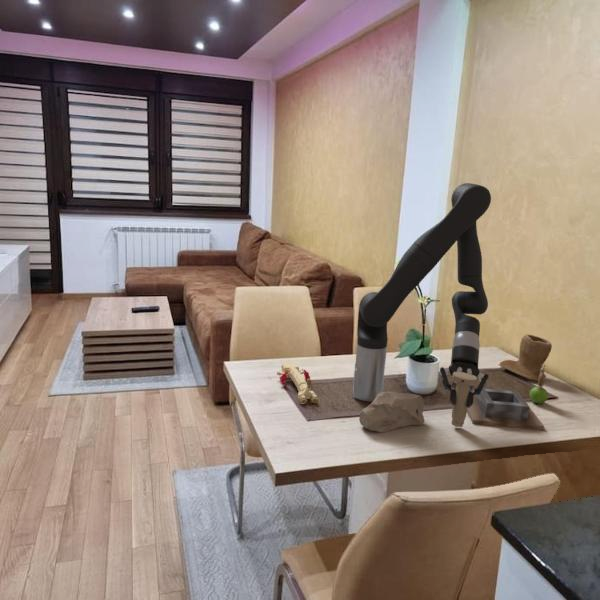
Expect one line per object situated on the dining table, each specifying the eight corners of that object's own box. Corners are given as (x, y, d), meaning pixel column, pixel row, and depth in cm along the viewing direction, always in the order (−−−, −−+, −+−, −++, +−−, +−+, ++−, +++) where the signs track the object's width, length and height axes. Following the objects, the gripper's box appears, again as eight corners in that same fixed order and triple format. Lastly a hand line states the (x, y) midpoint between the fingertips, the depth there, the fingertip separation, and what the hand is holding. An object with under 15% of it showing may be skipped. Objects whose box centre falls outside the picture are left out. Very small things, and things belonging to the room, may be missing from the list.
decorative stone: (413, 414, 155) (417, 383, 153) (429, 425, 149) (433, 393, 146) (355, 425, 147) (358, 392, 144) (369, 437, 140) (373, 403, 138)
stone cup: (553, 380, 189) (560, 340, 185) (530, 384, 183) (538, 344, 180) (519, 365, 202) (525, 328, 198) (497, 369, 196) (503, 331, 193)
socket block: (472, 423, 151) (475, 405, 150) (461, 400, 167) (463, 383, 165) (543, 430, 150) (546, 411, 148) (525, 406, 165) (528, 389, 164)
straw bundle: (324, 406, 160) (300, 370, 183) (326, 381, 157) (302, 347, 180) (292, 409, 157) (272, 372, 180) (294, 383, 154) (274, 348, 177)
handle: (467, 431, 144) (475, 381, 141) (444, 425, 147) (451, 375, 143) (470, 424, 148) (478, 375, 145) (447, 418, 151) (454, 370, 148)
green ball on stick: (546, 400, 170) (552, 366, 168) (546, 407, 165) (552, 372, 162) (528, 396, 173) (534, 362, 170) (527, 403, 167) (533, 368, 164)
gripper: (441, 340, 151) (435, 396, 143) (493, 347, 148) (490, 405, 139) (439, 352, 157) (433, 405, 149) (488, 359, 154) (485, 414, 146)
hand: (461, 405), depth 144 cm, fingers closed on handle, 3 cm apart
